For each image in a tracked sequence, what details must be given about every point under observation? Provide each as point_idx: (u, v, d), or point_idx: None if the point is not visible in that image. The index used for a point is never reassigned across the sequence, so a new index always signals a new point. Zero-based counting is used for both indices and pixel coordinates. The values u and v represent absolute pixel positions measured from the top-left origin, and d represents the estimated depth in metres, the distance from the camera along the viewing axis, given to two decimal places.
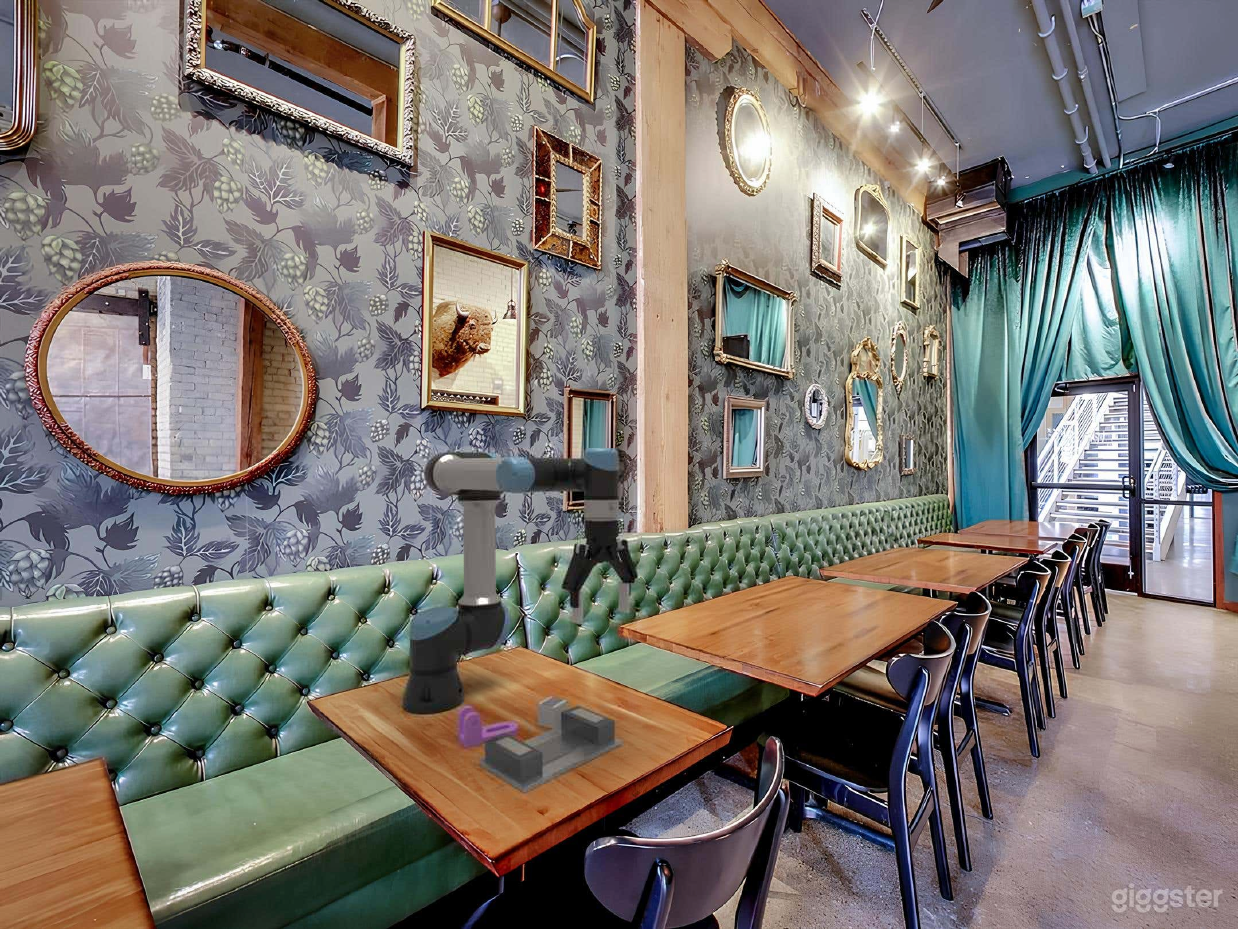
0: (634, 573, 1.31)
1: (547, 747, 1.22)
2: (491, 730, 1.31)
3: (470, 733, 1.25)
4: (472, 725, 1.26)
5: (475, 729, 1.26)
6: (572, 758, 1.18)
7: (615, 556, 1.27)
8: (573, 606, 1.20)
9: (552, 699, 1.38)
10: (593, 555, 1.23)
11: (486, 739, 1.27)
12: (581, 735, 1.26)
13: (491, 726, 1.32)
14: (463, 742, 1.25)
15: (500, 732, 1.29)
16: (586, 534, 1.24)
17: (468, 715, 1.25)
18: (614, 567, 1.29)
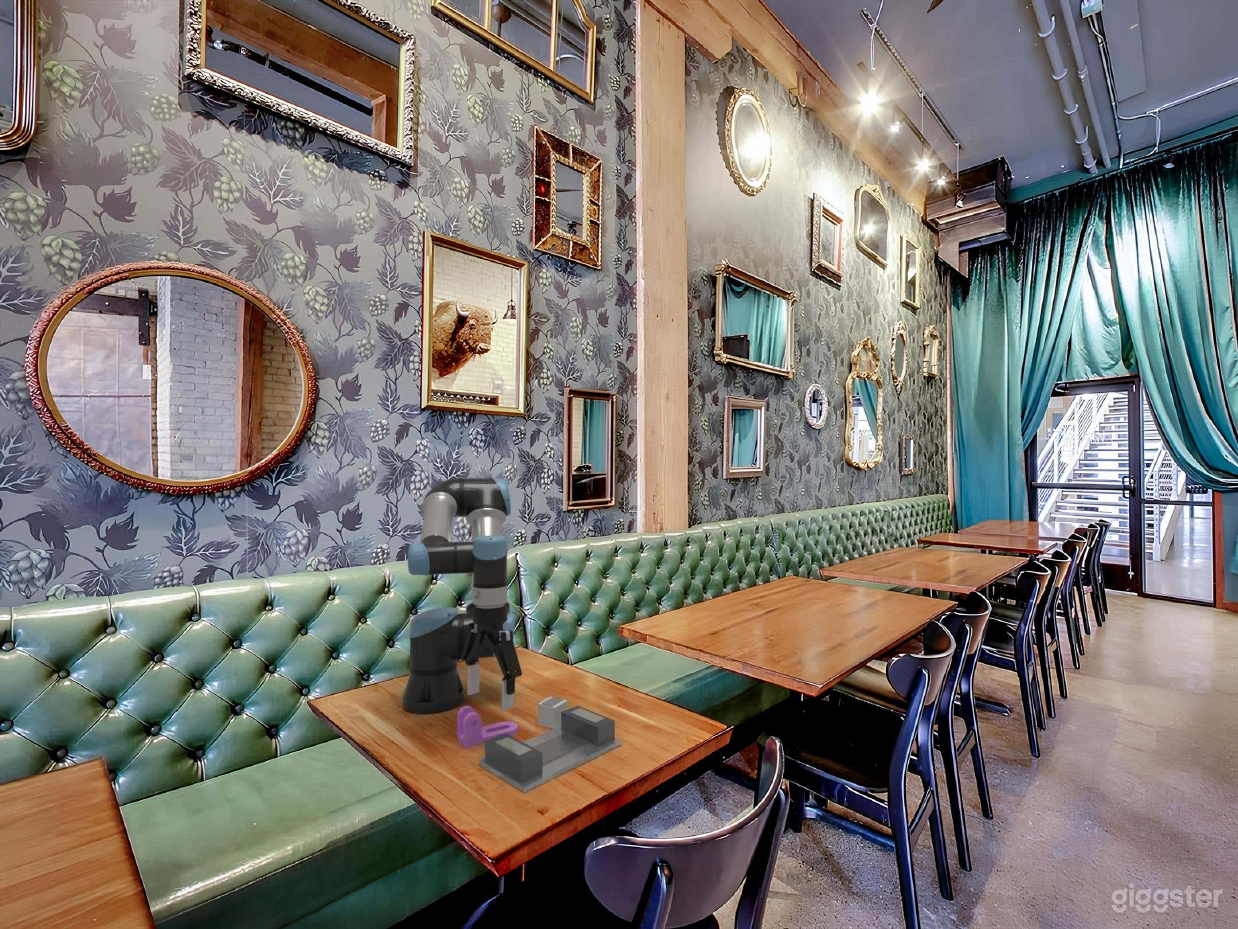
0: (509, 672, 1.23)
1: (547, 747, 1.22)
2: (491, 730, 1.31)
3: (470, 733, 1.25)
4: (472, 725, 1.26)
5: (475, 729, 1.25)
6: (572, 758, 1.18)
7: (490, 645, 1.27)
8: None
9: (552, 699, 1.38)
10: None
11: (485, 739, 1.27)
12: (581, 735, 1.26)
13: (491, 726, 1.32)
14: (463, 742, 1.25)
15: (500, 732, 1.29)
16: None
17: (468, 715, 1.25)
18: None
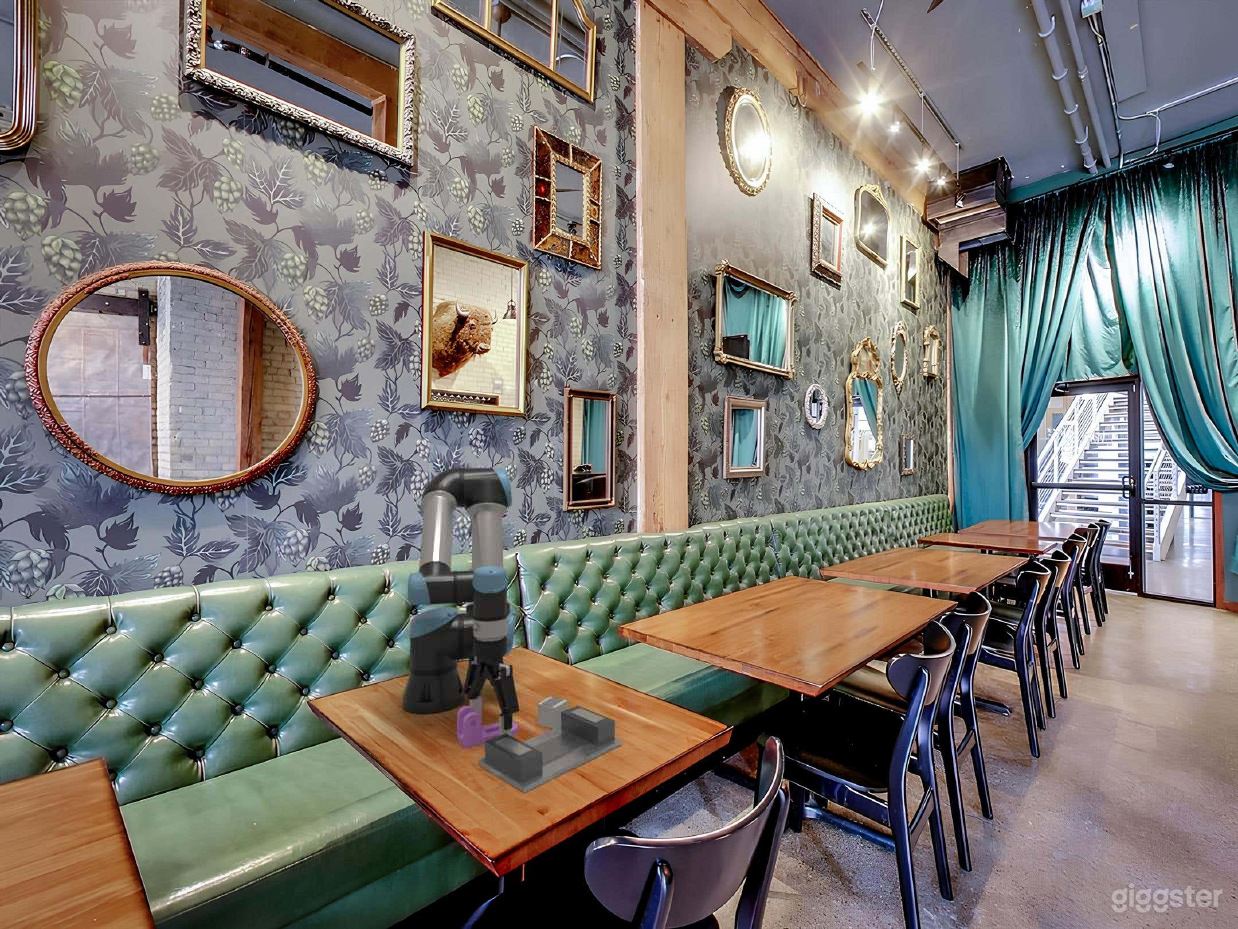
0: (507, 708, 1.24)
1: (547, 747, 1.22)
2: (491, 730, 1.31)
3: (470, 733, 1.25)
4: (472, 725, 1.26)
5: (475, 729, 1.25)
6: (572, 758, 1.18)
7: (489, 678, 1.28)
8: None
9: (552, 699, 1.38)
10: None
11: (485, 739, 1.27)
12: (581, 735, 1.26)
13: (491, 726, 1.32)
14: (462, 742, 1.25)
15: None
16: None
17: (468, 715, 1.25)
18: None
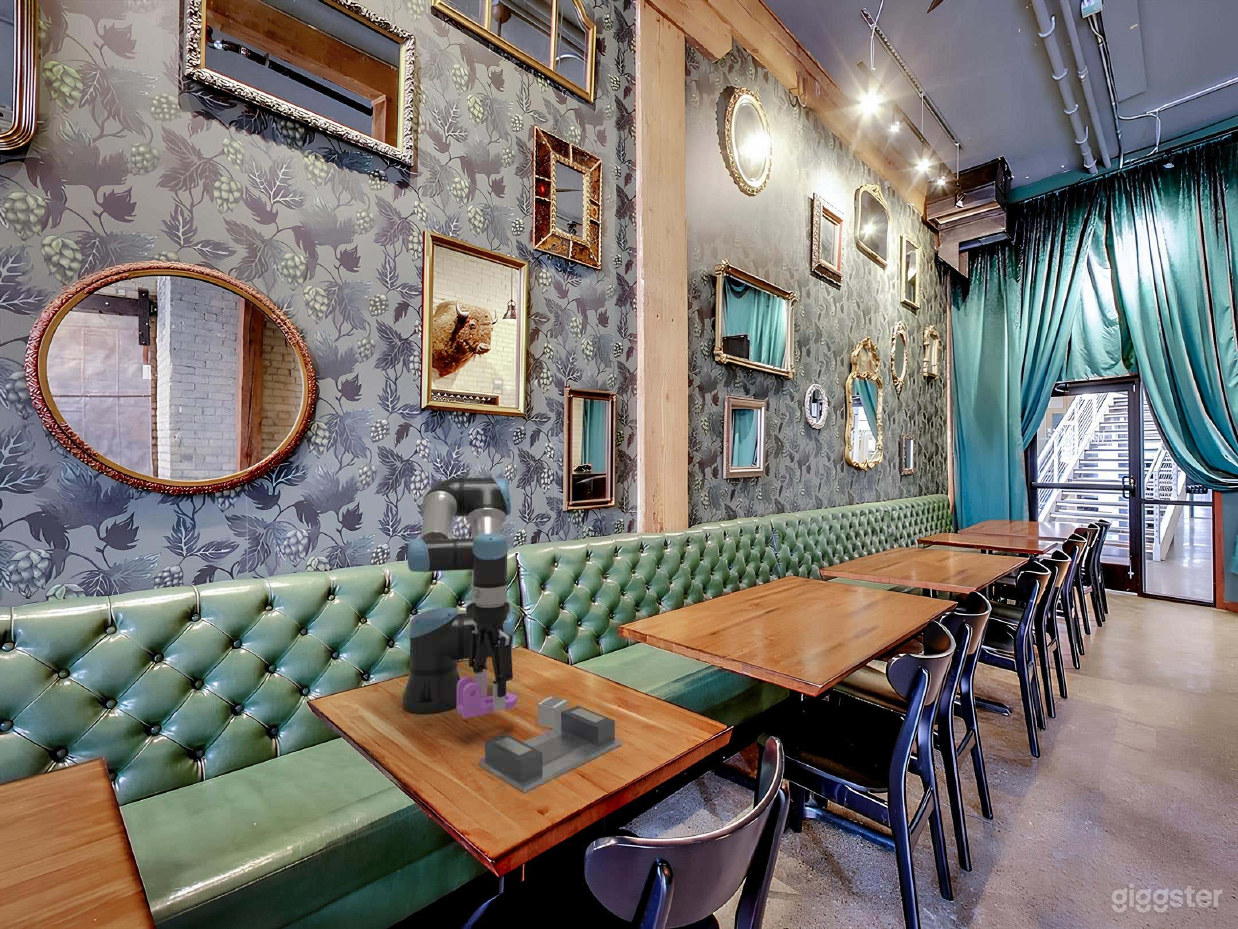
0: (501, 675, 1.26)
1: (547, 747, 1.22)
2: (490, 701, 1.32)
3: (469, 703, 1.26)
4: (471, 695, 1.26)
5: (474, 699, 1.26)
6: (572, 758, 1.18)
7: (488, 644, 1.28)
8: None
9: (552, 699, 1.38)
10: None
11: (484, 709, 1.27)
12: (581, 735, 1.26)
13: (490, 697, 1.33)
14: (462, 712, 1.26)
15: None
16: None
17: (467, 685, 1.26)
18: None
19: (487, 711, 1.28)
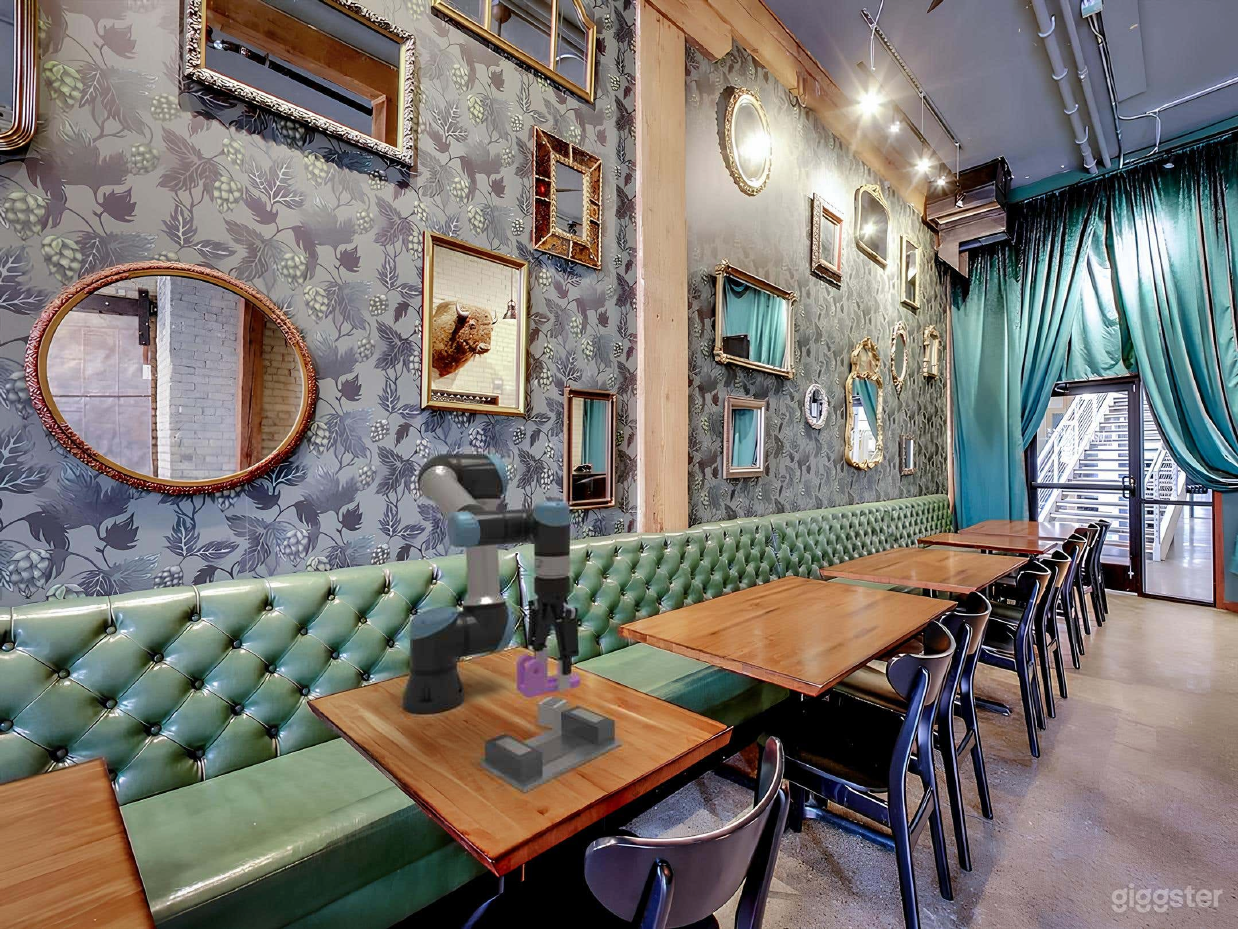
0: (567, 651, 1.17)
1: (547, 747, 1.22)
2: (552, 681, 1.22)
3: (533, 681, 1.16)
4: (534, 673, 1.17)
5: (537, 677, 1.17)
6: (572, 758, 1.18)
7: (551, 618, 1.19)
8: None
9: (552, 699, 1.38)
10: None
11: (548, 688, 1.18)
12: (581, 735, 1.26)
13: (551, 677, 1.23)
14: (525, 691, 1.16)
15: None
16: None
17: (530, 662, 1.17)
18: None
19: (551, 690, 1.18)
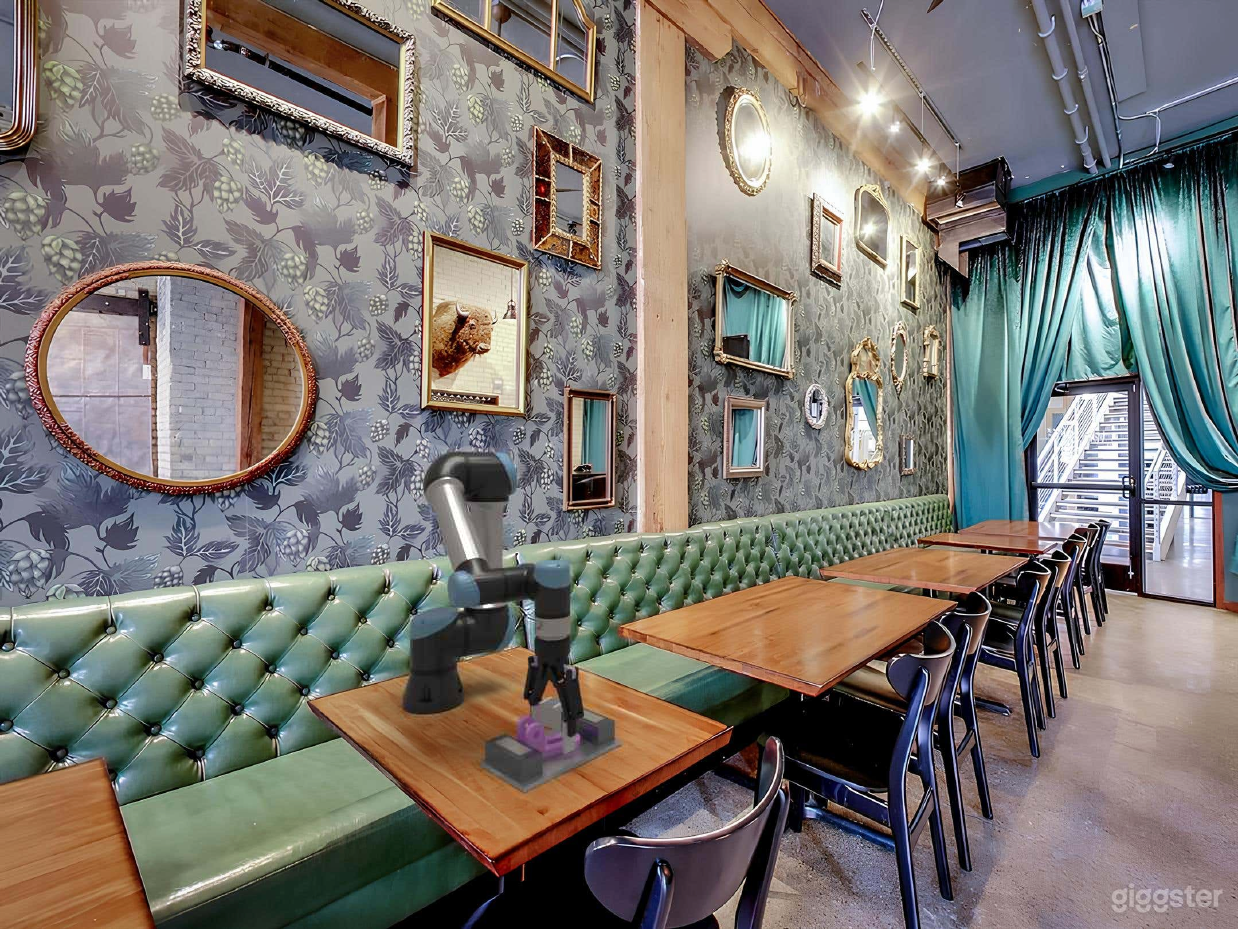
0: (572, 713, 1.15)
1: None
2: (552, 741, 1.22)
3: (533, 745, 1.16)
4: (534, 737, 1.17)
5: (538, 741, 1.17)
6: (572, 758, 1.18)
7: (552, 680, 1.19)
8: None
9: (552, 699, 1.38)
10: None
11: (548, 751, 1.18)
12: (581, 735, 1.26)
13: (551, 737, 1.23)
14: None
15: None
16: None
17: (530, 726, 1.16)
18: None
19: (551, 753, 1.18)
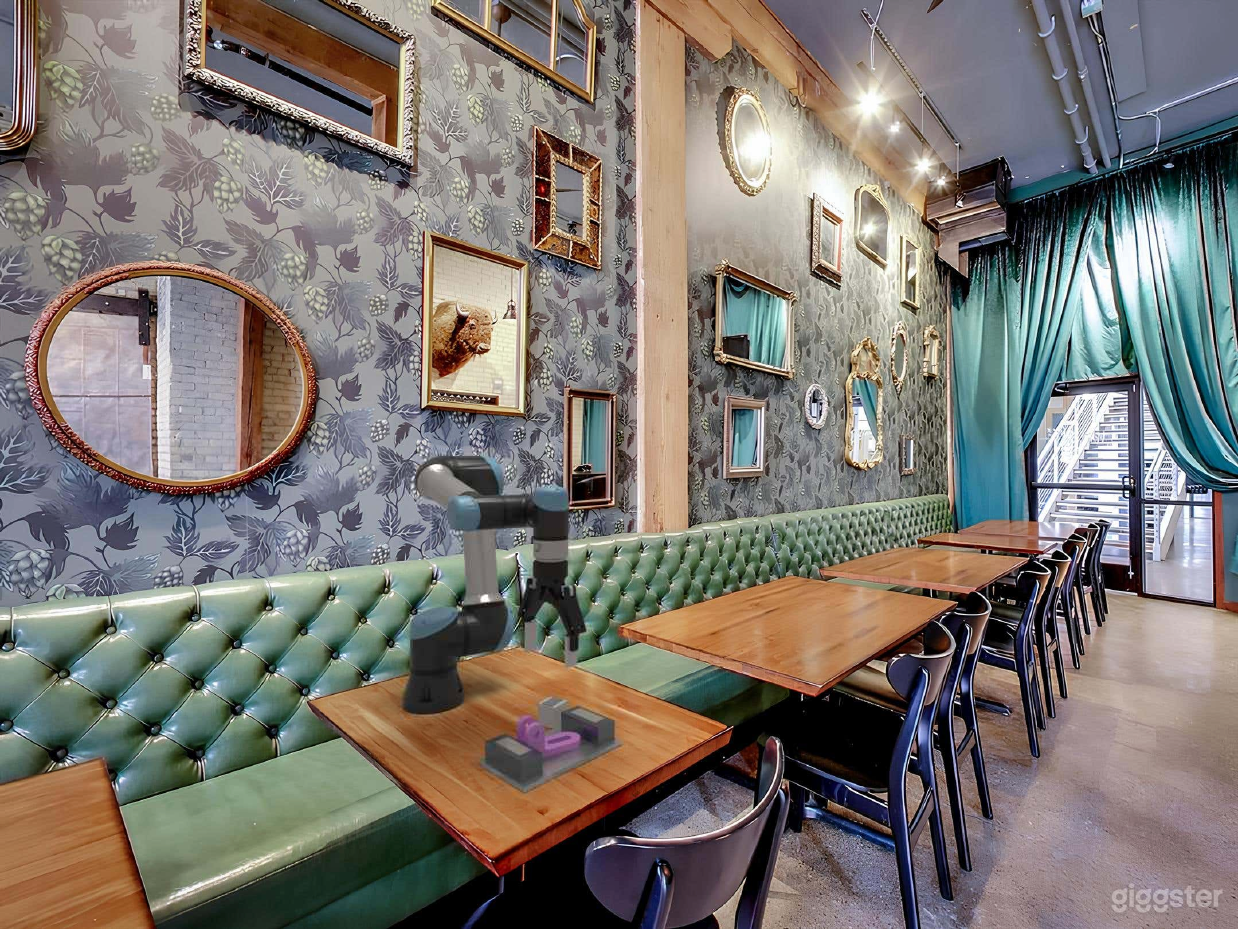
0: (574, 627, 1.17)
1: None
2: (552, 741, 1.22)
3: (533, 745, 1.16)
4: (534, 736, 1.17)
5: (538, 741, 1.17)
6: (572, 758, 1.18)
7: (551, 600, 1.21)
8: None
9: (552, 699, 1.38)
10: None
11: (548, 751, 1.18)
12: (581, 735, 1.26)
13: (551, 737, 1.23)
14: None
15: (563, 744, 1.20)
16: None
17: (530, 726, 1.17)
18: None
19: (551, 753, 1.18)
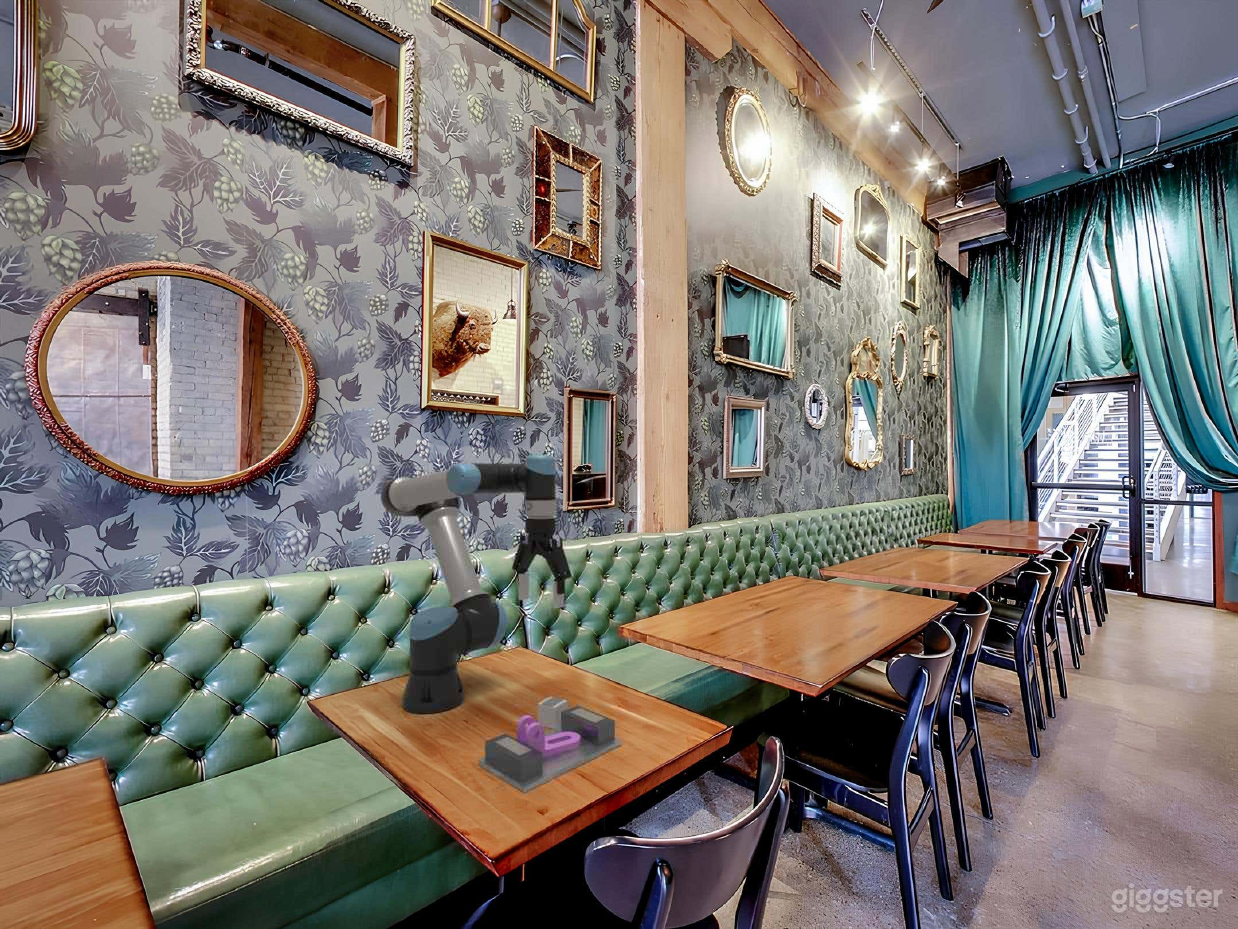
0: (560, 573, 1.37)
1: None
2: (552, 741, 1.22)
3: (533, 745, 1.16)
4: (534, 736, 1.17)
5: (538, 741, 1.17)
6: (572, 758, 1.18)
7: (541, 551, 1.41)
8: None
9: (552, 699, 1.38)
10: None
11: (548, 751, 1.18)
12: (581, 735, 1.26)
13: (551, 737, 1.23)
14: None
15: (563, 744, 1.20)
16: None
17: (530, 726, 1.17)
18: None
19: (551, 753, 1.18)
